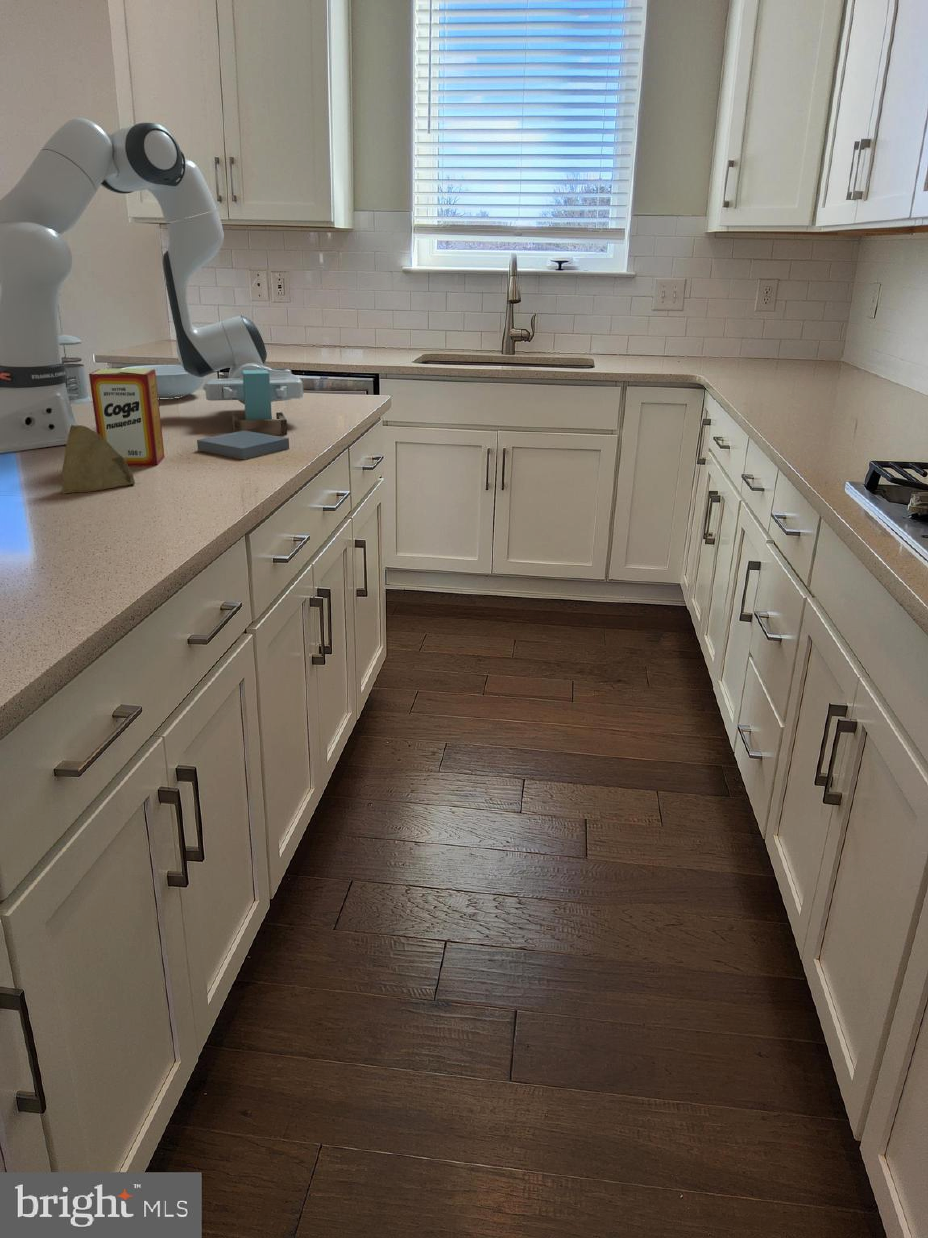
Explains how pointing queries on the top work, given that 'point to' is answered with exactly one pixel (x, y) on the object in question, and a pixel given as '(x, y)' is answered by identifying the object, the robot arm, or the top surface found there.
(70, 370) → the french press
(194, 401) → the top surface
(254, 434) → the slate tile
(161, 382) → the serving bowl
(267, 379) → the teal block
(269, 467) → the top surface
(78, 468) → the rock
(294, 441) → the top surface
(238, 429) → the walnut cubby
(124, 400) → the baking soda box
